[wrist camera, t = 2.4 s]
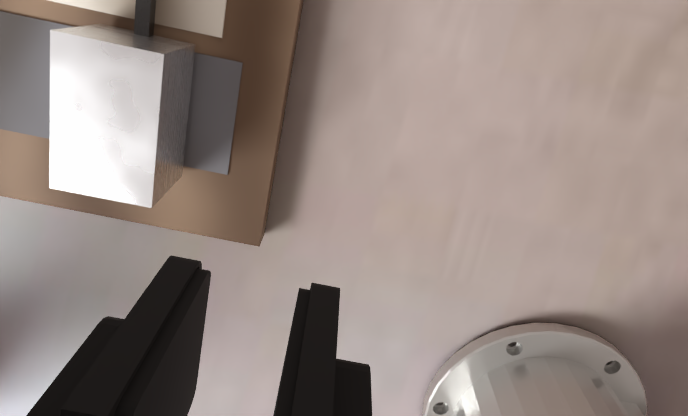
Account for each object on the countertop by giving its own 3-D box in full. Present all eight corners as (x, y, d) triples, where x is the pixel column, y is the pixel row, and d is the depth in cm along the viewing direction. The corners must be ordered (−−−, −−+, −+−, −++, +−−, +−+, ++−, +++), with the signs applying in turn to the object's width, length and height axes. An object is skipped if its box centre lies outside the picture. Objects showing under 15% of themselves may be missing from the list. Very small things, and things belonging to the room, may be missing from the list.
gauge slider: (202, -27, 22) (170, -31, 18) (182, 176, 25) (151, 208, 21) (103, -49, 22) (50, -57, 18) (95, 158, 25) (49, 188, 21)
